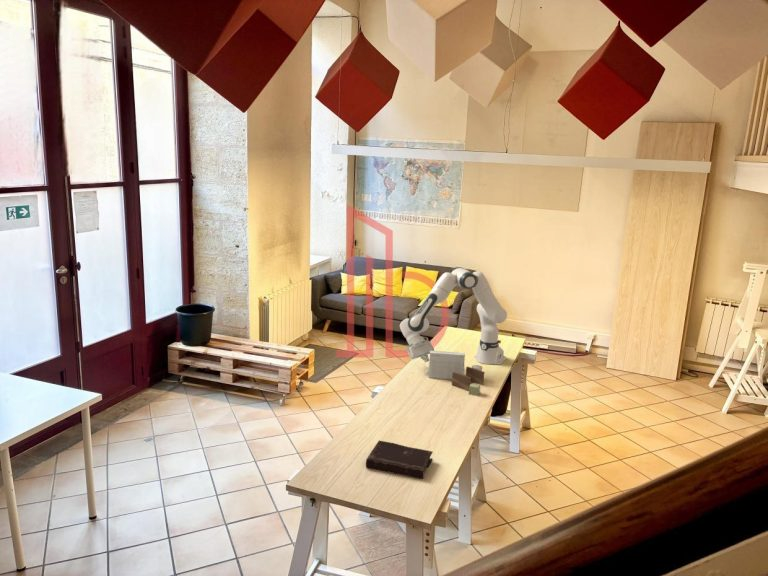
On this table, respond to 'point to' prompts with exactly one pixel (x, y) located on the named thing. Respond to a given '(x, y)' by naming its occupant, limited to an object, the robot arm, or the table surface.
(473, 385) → the olive block
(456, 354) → the skincare box
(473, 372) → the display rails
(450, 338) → the table surface
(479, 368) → the grey rounded capsule
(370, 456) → the diary
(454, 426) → the table surface
